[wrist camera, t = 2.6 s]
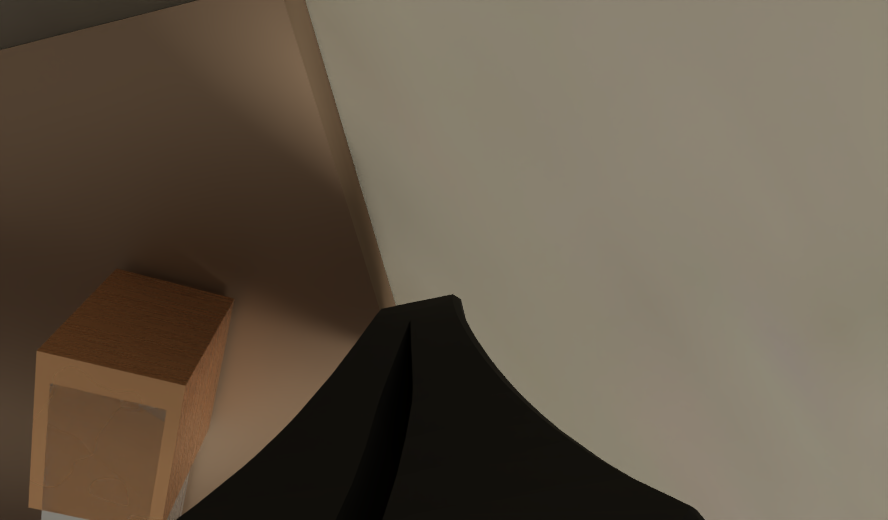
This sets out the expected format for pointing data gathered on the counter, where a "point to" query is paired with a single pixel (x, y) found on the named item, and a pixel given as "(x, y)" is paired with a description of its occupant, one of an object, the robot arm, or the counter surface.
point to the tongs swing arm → (126, 400)
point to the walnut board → (184, 209)
